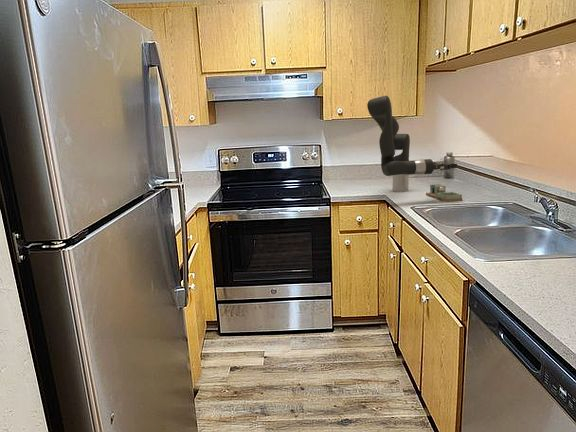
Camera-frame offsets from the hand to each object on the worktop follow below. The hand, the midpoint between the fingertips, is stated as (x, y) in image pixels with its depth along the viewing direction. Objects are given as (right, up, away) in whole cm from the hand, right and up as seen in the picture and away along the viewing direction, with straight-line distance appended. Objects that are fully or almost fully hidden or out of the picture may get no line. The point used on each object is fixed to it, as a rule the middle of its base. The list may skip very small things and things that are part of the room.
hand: (453, 165), depth 229 cm
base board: (-2, -16, +10) cm, 19 cm away
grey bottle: (-2, -7, +1) cm, 7 cm away
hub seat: (-1, -16, +3) cm, 17 cm away
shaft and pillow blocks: (-3, -14, +15) cm, 21 cm away
